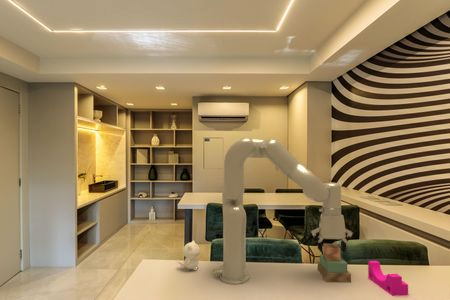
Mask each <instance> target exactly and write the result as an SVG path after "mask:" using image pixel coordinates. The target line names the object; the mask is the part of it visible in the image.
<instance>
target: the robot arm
mask: <svg viewBox="0 0 450 300" xmlns="http://www.w3.org/2000/svg"><path fill="white" fill-rule="evenodd" d="M248 158H251V159H252V158H255V159H256V158H257V159H268V160H269V161H270V162H271V164H273V165H274V166H275V167H276V168H277V170H279V171H280V173H282V175H283V176H285V177H286V178H288V179H289V180H291V181H292V182H293V183H296V184H297V186H298V187H300V188H301V189H302V192H303V195H304V196H305V197H306V198H307V199H310V200H312V201H314V202H316V203H322V206H321V208H318V211H319V212H320V213H321V214H320V217H319V224H318V226H319V227H317V228H315V229H312V230H311V232H310V233H311V234H312V236H313V238H314V239H315V240H316V241H317V249H318V251H319V252H320V253H322V252H323V240H341V241H340V248H341V252H343V253H346V250H347V244H348V241H350V239H351V237H353V236H352V235H353V233H354V232H352V230H349V229H347V228H346V224H345V217H344V215H343V214H342V185H341V184H340V183H339V182H323V181H321V180H320V179H319V178H318V177H317V176H316V175H315V174H314V173H313V172H312V171H311V170H310V169H308V168H307V167H306V166H305V165H304V164H303V163H301V162H300V161H299V160H298V159H297V158H296V157H295V156H294V155H293V154H292V153H291V152H290V151H289V150H288V149H287V147H285V146H284V145H283V144H282V143H281V142H280V141H279V140H277V139H275V138H270V139H252V138H249V137H242V138H240V139H239V140H237V141H236V142H234V143H233V144H232V145H230V146H229V148H228V149H227V152H226V154H225V156H224V161H223V165H224V166H223V182H222V185H221V188H222V189H221V191H222V200H221V201H222V219H223V220H222V223H223V224H222V227H223V229H222V230H223V233H222V243H223V248H222V249H223V252H222V255H223V257H222V259H223V261H222V263H223V264H222V266H213V267H212V272H214V273H215V274H218V275H219V279H220V280H221V282H223V283H225V284H229V285H242V284H244V283H247V282H248V281H249V280H250V274H249V272H248V271H246V268H247V267H246V263H247V262H246V260H247V259H246V255H247V252H246V249H247V247H246V243H247V242H246V238H247V237H246V231H247V230H246V229H247V213H246V210H245V208H244V194H245V189H246V188H245V177H244V176H245V174H244V172H245V162H246V160H247V159H248ZM317 234H319V235H318V236H317Z"/></svg>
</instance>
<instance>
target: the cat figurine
mask: <svg viewBox="0 0 450 300" xmlns="http://www.w3.org/2000/svg"><path fill="white" fill-rule="evenodd" d="M200 253H201V249H200V246H199V245H198V244H197V243H196V242H195V240H192V241H191V242H188V243H186V244H185V245H184V247H183V248H182V254H183V256H184V257H185V259H184V261H183V263H182V262H181V261H179V260H177V261H176V262H177V263H178V264H179V265H180V266H182V267H184V268H187V269H188V270H194V271H198V268H199V266H198V265H199V258H198V257H199V255H200ZM196 267H198V268H196Z"/></svg>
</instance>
